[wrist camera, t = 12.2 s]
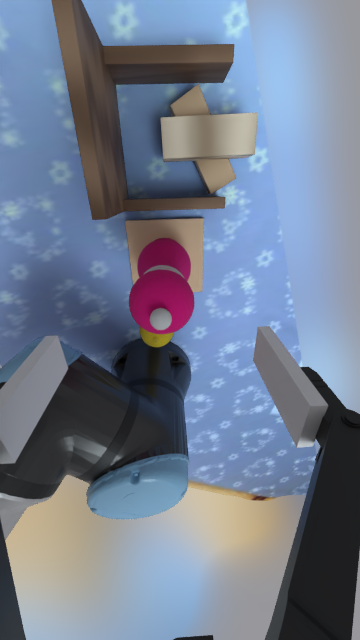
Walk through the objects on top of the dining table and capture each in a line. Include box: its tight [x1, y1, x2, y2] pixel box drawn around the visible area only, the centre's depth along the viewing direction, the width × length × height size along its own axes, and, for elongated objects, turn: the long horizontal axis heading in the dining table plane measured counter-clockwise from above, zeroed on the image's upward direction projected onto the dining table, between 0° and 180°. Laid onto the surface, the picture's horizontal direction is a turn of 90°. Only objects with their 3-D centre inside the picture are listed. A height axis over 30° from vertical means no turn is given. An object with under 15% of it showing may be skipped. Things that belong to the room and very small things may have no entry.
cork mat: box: [125, 218, 204, 292], centre depth 36 cm, size 11×11×1 cm
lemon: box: [140, 327, 174, 347], centre depth 38 cm, size 6×6×8 cm
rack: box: [52, 0, 234, 220], centre depth 24 cm, size 14×14×14 cm
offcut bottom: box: [170, 84, 236, 194], centre depth 29 cm, size 10×4×3 cm, turn 30°
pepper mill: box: [129, 238, 194, 334], centre depth 27 cm, size 7×7×20 cm
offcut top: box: [161, 113, 258, 162], centre depth 26 cm, size 10×4×3 cm, turn 93°
